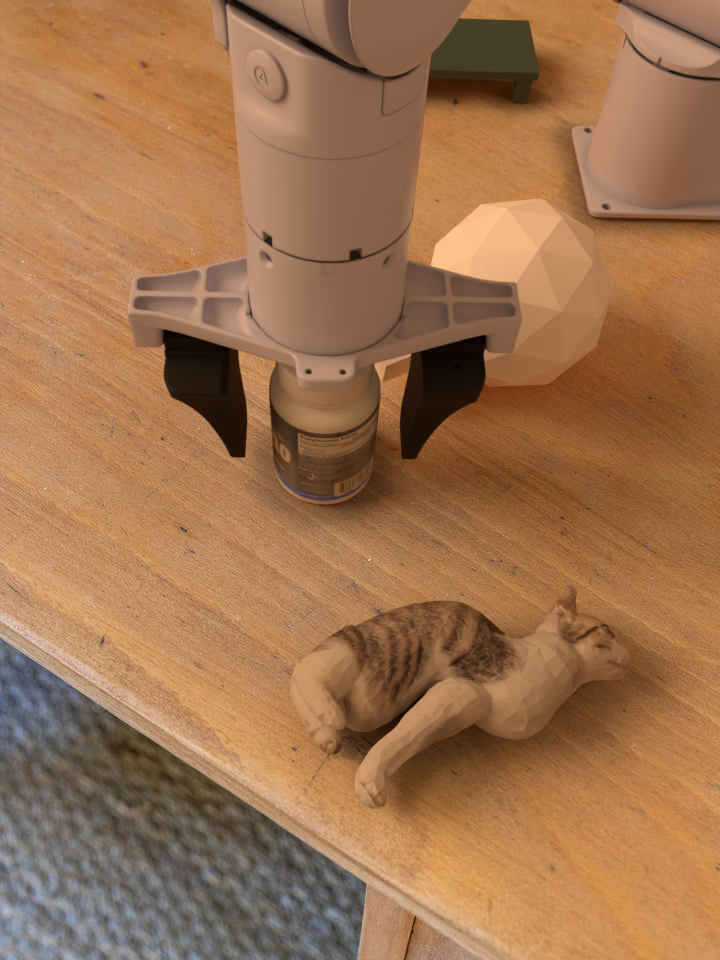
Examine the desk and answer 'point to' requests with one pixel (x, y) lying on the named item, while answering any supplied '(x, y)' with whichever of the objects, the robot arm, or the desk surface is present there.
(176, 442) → the desk surface
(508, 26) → the green footed tray
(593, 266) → the perfume bottle
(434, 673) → the figurine
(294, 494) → the pill bottle
